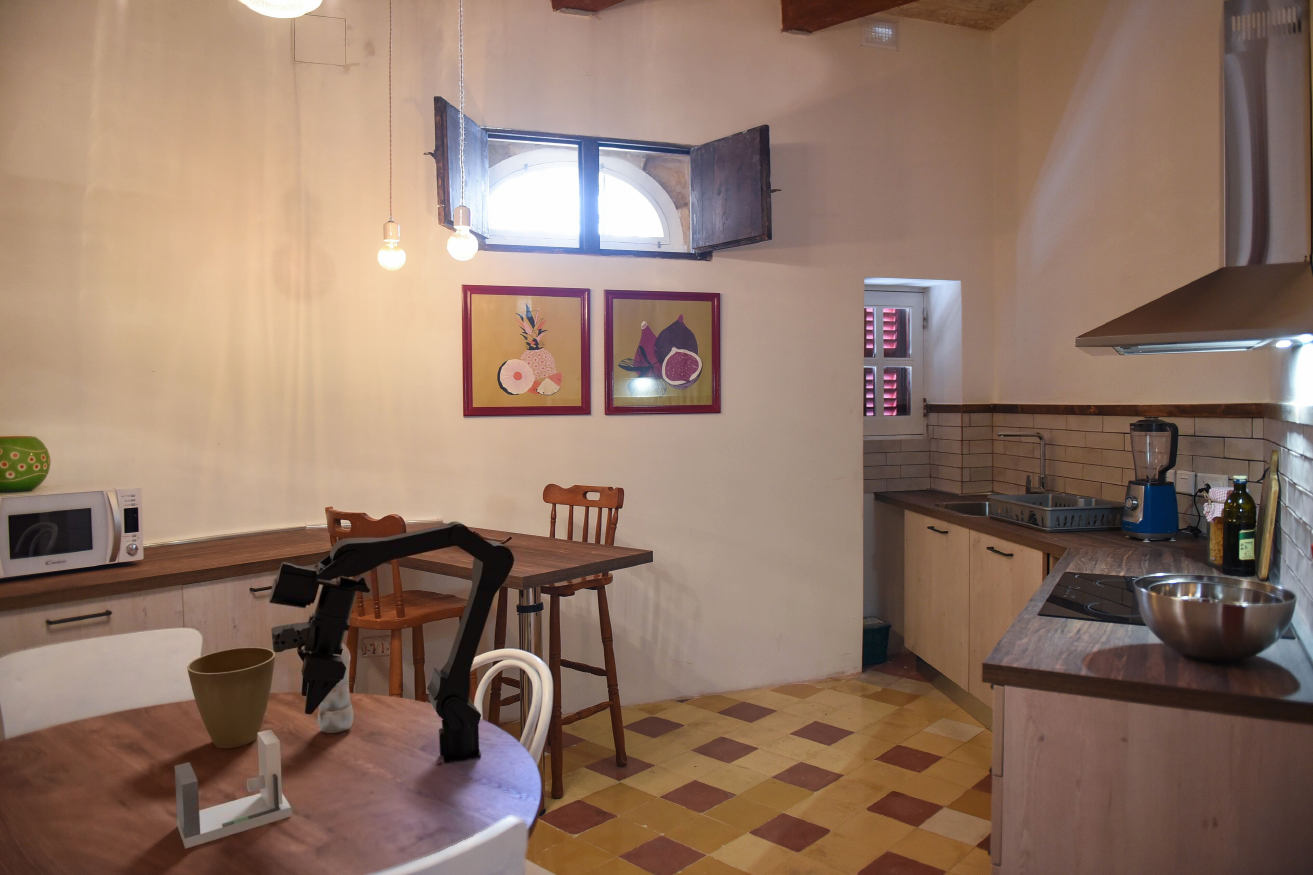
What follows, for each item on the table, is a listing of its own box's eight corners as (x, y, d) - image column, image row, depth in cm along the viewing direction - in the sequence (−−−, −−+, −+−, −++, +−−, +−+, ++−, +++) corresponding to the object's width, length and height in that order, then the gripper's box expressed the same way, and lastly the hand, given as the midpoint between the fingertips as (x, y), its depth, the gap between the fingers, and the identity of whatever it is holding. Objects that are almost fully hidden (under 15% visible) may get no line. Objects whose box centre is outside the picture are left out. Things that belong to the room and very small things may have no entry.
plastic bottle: (342, 738, 157) (338, 635, 156) (310, 736, 158) (306, 634, 157) (360, 725, 163) (357, 626, 162) (330, 722, 164) (326, 625, 163)
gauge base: (279, 796, 134) (278, 787, 134) (291, 816, 128) (290, 806, 127) (177, 826, 125) (177, 815, 125) (185, 848, 119) (184, 837, 119)
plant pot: (182, 740, 157) (178, 658, 156) (264, 719, 167) (261, 642, 166) (202, 765, 146) (198, 677, 145) (289, 740, 156) (285, 658, 155)
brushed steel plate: (192, 812, 126) (189, 761, 126) (200, 833, 120) (197, 780, 120) (177, 816, 125) (174, 765, 125) (184, 838, 119) (182, 784, 118)
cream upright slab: (273, 789, 132) (270, 729, 132) (284, 807, 127) (281, 743, 126) (245, 797, 130) (242, 736, 129) (254, 815, 124) (252, 751, 124)
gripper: (280, 593, 143) (254, 681, 142) (284, 618, 126) (255, 718, 125) (345, 604, 148) (320, 689, 146) (358, 629, 131) (330, 726, 130)
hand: (306, 704), depth 137 cm, fingers open, 9 cm apart
